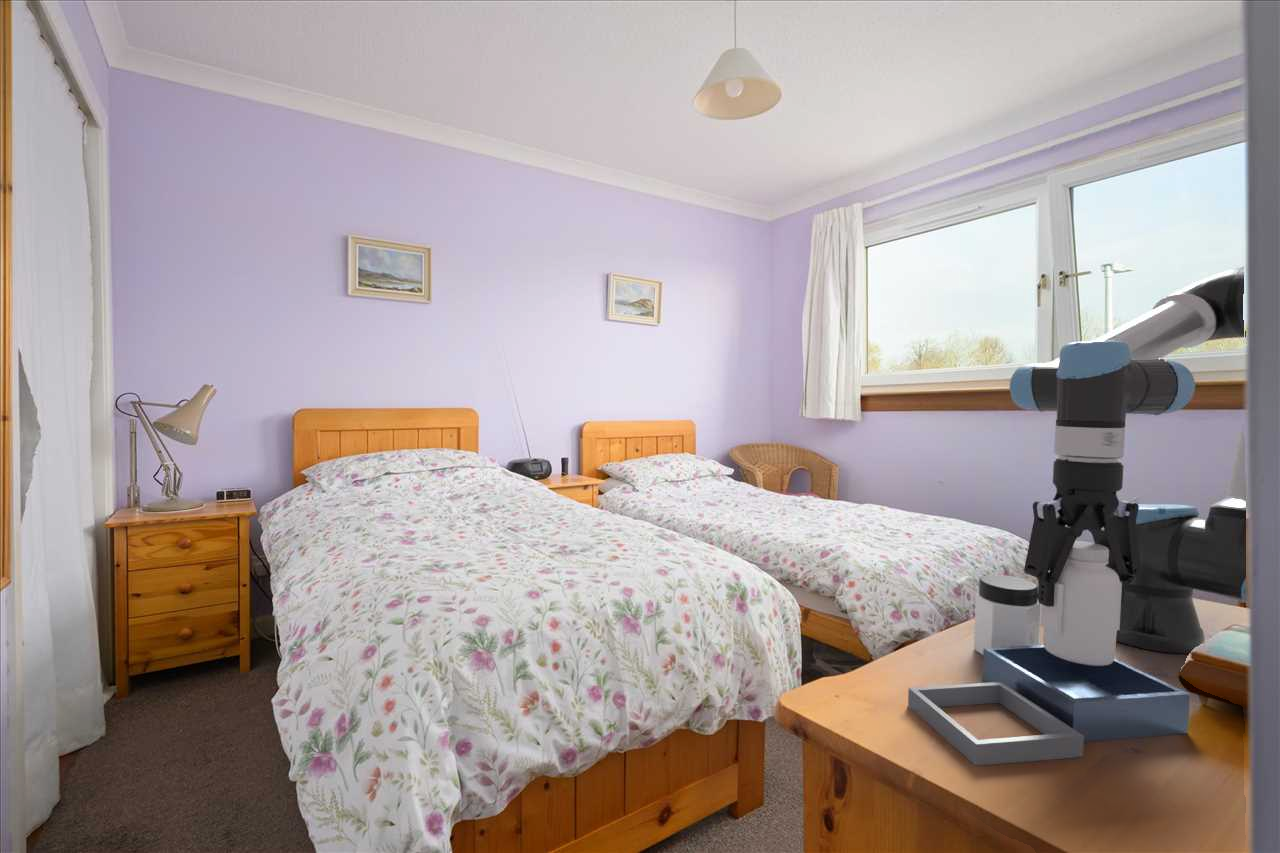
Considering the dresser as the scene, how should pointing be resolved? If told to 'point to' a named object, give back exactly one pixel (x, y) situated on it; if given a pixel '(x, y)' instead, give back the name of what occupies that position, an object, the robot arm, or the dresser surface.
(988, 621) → the jar
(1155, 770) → the dresser surface
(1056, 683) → the bin
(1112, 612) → the pill bottle
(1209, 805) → the dresser surface
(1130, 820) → the dresser surface
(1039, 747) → the frame
